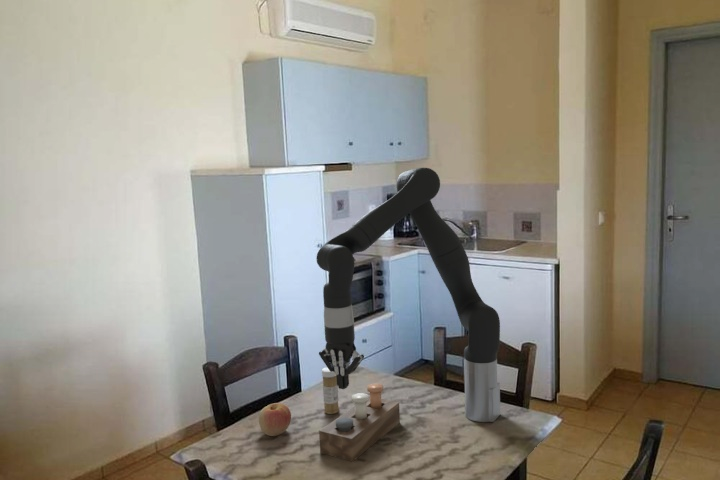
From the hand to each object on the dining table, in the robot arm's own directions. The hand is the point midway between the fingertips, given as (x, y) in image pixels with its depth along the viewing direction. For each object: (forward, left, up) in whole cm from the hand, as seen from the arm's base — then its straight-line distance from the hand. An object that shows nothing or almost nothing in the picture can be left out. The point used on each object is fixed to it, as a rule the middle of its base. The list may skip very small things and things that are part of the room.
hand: (343, 387), depth 153 cm
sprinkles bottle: (+17, -18, -17) cm, 30 cm away
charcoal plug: (0, 0, -16) cm, 16 cm away
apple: (+23, +1, -17) cm, 29 cm away
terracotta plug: (0, -16, -12) cm, 20 cm away
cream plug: (0, -8, -12) cm, 15 cm away
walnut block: (0, -8, -17) cm, 19 cm away
